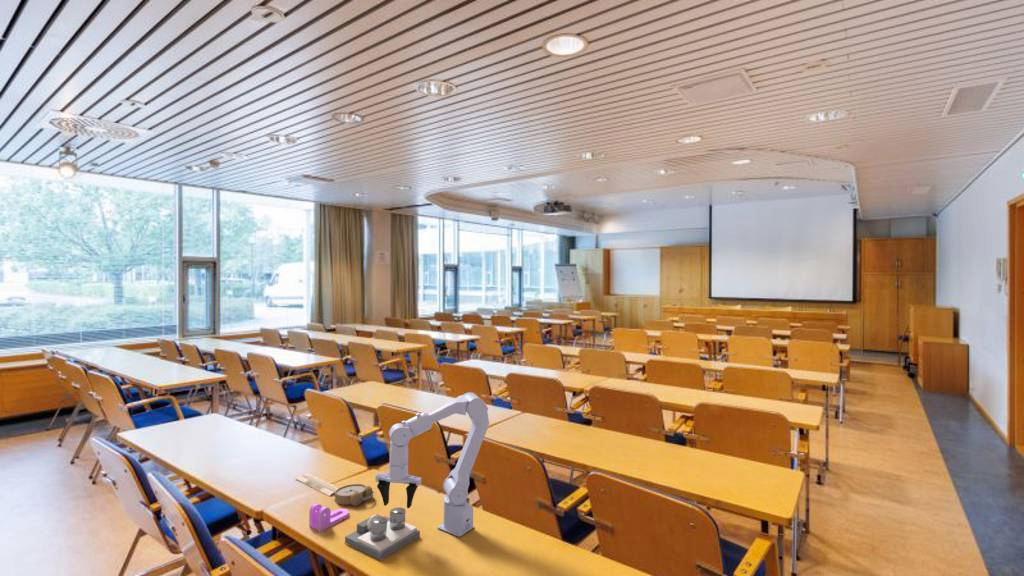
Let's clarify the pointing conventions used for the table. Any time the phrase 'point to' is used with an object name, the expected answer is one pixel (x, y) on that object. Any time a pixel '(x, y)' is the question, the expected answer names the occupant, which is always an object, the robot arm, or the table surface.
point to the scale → (386, 546)
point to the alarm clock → (353, 494)
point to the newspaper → (317, 484)
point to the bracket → (325, 516)
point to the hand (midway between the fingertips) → (397, 505)
